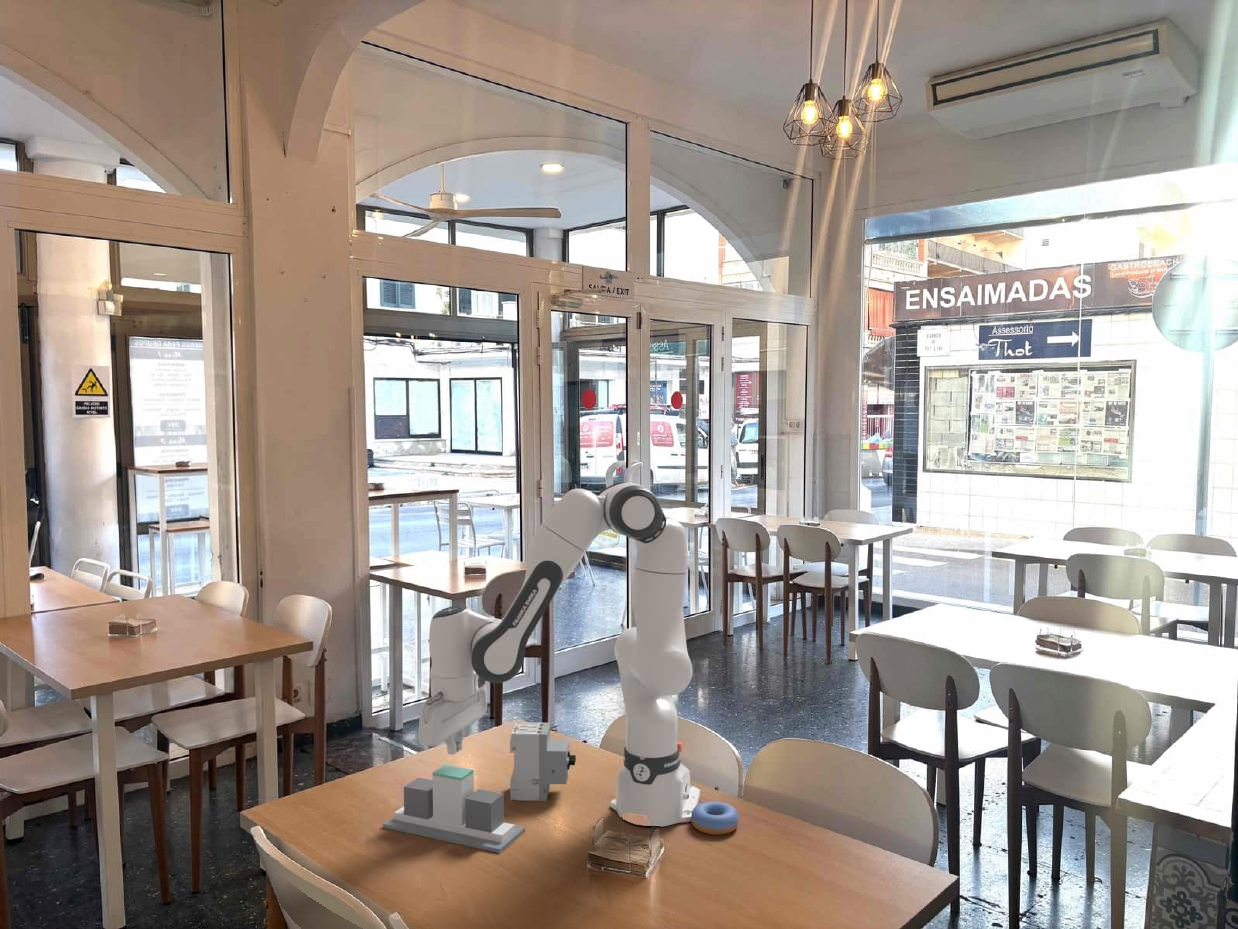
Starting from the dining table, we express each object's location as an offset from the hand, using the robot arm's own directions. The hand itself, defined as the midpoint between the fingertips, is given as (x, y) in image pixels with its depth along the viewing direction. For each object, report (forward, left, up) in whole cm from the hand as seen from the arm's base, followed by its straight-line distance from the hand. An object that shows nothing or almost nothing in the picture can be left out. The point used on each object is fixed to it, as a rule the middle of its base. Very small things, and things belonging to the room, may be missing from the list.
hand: (455, 752), depth 183 cm
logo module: (0, 0, -14) cm, 14 cm away
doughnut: (-22, +49, -17) cm, 56 cm away
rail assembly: (0, 0, -16) cm, 16 cm away
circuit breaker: (-23, +9, -17) cm, 29 cm away
